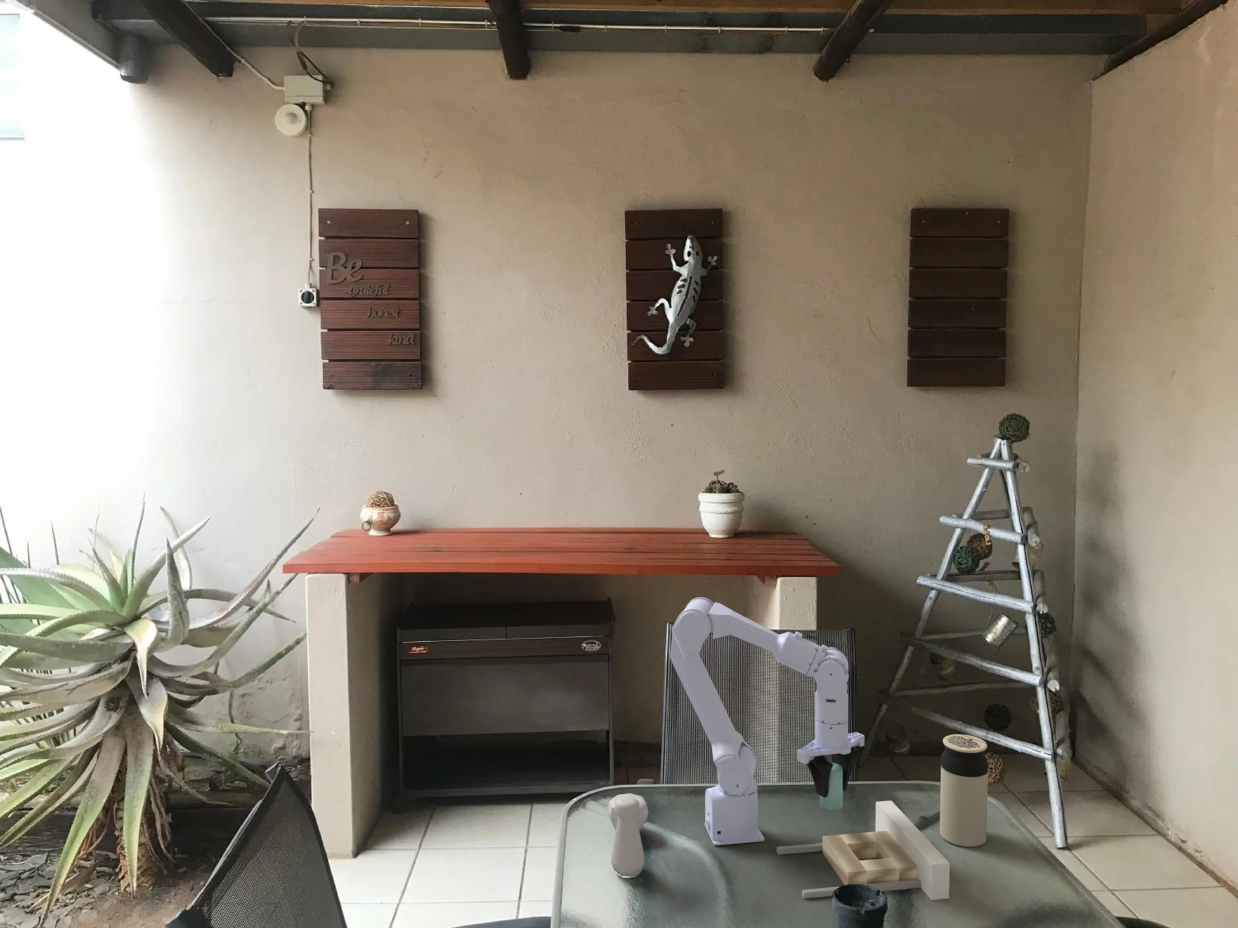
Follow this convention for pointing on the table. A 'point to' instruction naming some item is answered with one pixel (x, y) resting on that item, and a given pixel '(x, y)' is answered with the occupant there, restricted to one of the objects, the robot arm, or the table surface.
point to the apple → (640, 817)
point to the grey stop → (911, 840)
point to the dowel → (834, 790)
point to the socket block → (868, 845)
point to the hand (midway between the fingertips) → (831, 791)
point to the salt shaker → (627, 839)
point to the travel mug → (964, 790)
